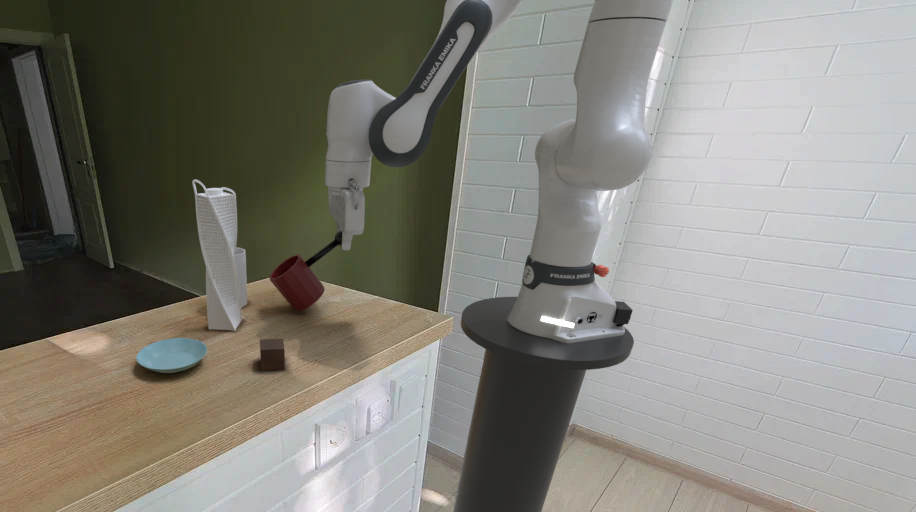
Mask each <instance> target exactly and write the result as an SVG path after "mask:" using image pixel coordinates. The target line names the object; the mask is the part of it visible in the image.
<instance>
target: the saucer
mask: <svg viewBox="0 0 916 512" xmlns="http://www.w3.org/2000/svg"><path fill="white" fill-rule="evenodd" d="M207 353H208V347H207V345H206V344H205V343H204V342H202V341H201V340H198V339H195V338H190V337H189V338H188V337H173V338H167V339H166V338H165V339H162V340H157V341H155V342H152V343H150V344H148V345H146V346H144V347H142V348H141V349H140V350H139V351H138V353H137V354H136V357H135V359H136V363H138V364H139V365H140V366H142V367H143V368H145V369H148V370H150V371H152V372H155V373H161V374H175V373H181V372H183V371H187V370H189V369H191V368H193V367H194V366H196V365H198V364H199V363H200V362H201V361H202V360H203V358H204V357H205V356H206V355H207Z"/></svg>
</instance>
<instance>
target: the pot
mask: <svg viewBox="0 0 916 512" xmlns="http://www.w3.org/2000/svg"><path fill="white" fill-rule="evenodd" d="M341 240H342V231H339V232H338V233H337V232H336V233H335V235H334V239H333V240H332V241H331V242H329V243H328V244H327V245H325V246H324V247H323V248H321V249H320V250H319V251H318V252H316V253H314V255H312V256H311V257H309V258H308V259H307V260H306V261H305V259H304V258H303V257H302V255H301V254H300V253H297V254H293V255H291V256H290V257H288V258H286V259H285V260H284V261H282V262H281V263H279V264H278V265H277V267H275V269H274V270H273V271H272V272H271V274H270V275H269V281H270V282H271V283H272V284H273V286H274V287H275V288H276V289H277V291H278V292H279V293H280V295H282V297H283V298H284V299H285V300H286V301H287V303H288V304H289V305H290V307H292V309H293V310H294V311H296V312H302V311H305V310H307V309H308V308H310V307H311V306H313V305H315V303H317V301H319V300H320V298H322V296H323V295H324V293H325V291H326V289H325V288H326V287H324V285H323V283H322V282H321V280H320V279H319V277H317V275H316V274H315V273H314V271H313V270H312V268H311V267H312V266H313V265H314V264H316V263H317V262H318V261H320V260H321V259H322V258H323V257H325V256H326V255H328V254H329V253H330V252H331V251H333V250H334V249H336V248H338V247H339V246H340V247H341Z"/></svg>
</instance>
